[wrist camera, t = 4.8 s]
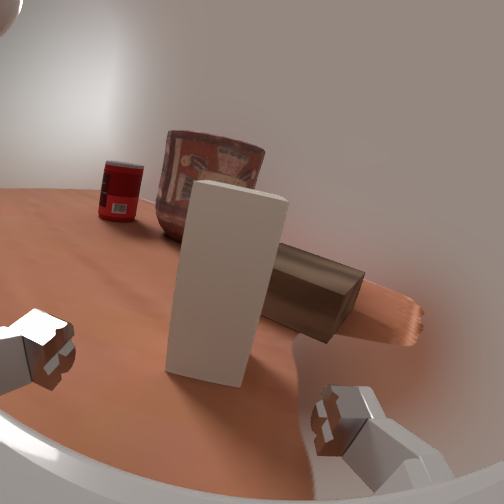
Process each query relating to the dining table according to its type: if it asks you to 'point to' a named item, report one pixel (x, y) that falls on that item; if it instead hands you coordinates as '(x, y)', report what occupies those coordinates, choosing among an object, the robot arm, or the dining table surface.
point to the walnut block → (310, 292)
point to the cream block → (222, 280)
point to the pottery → (200, 172)
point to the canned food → (120, 191)
